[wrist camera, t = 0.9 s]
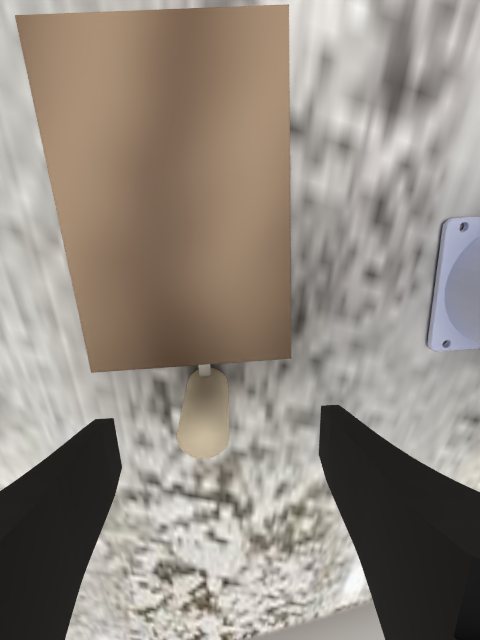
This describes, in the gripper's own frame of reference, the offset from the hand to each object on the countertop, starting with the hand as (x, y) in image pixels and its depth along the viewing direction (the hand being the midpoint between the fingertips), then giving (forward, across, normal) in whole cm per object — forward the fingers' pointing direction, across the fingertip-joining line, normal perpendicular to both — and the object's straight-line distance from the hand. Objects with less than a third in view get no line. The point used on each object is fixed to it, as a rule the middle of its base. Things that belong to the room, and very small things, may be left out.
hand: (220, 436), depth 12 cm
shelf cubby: (+10, +1, -7) cm, 12 cm away
